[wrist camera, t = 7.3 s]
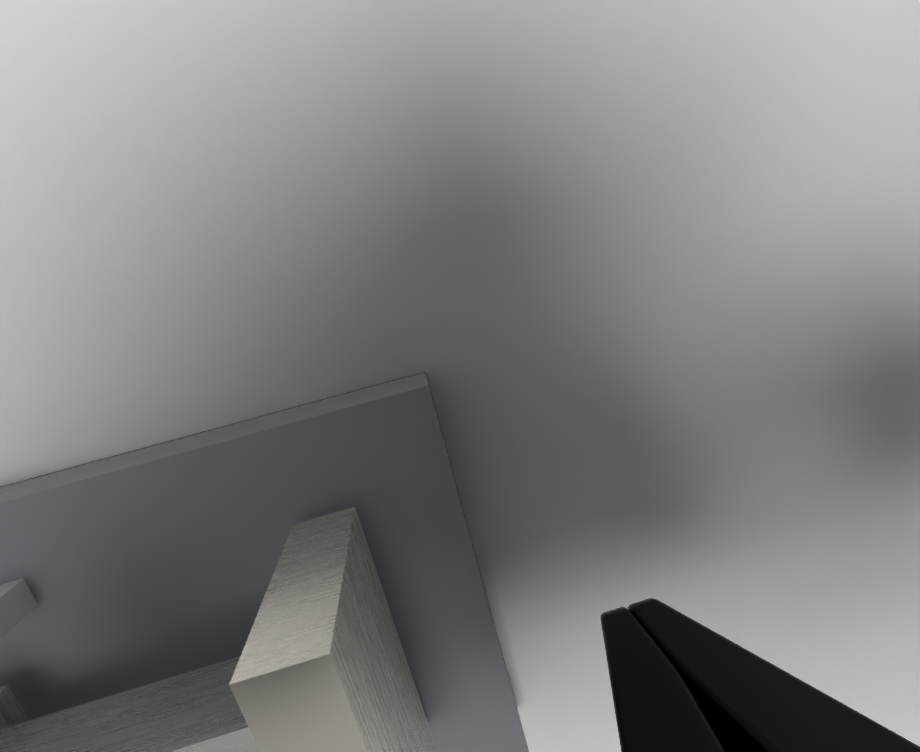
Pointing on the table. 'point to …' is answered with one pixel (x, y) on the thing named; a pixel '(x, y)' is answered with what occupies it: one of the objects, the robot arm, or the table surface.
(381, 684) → the plunger
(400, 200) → the table surface
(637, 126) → the table surface
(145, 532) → the gauge bed
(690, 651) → the robot arm
